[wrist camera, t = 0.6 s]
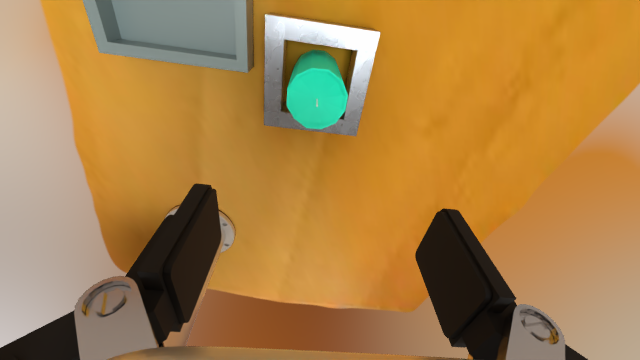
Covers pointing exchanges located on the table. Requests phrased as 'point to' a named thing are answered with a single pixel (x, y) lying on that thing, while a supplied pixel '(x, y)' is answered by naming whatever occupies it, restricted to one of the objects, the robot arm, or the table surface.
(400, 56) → the table surface
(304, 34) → the holder
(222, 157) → the table surface
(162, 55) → the tray
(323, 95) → the candle
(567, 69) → the table surface
